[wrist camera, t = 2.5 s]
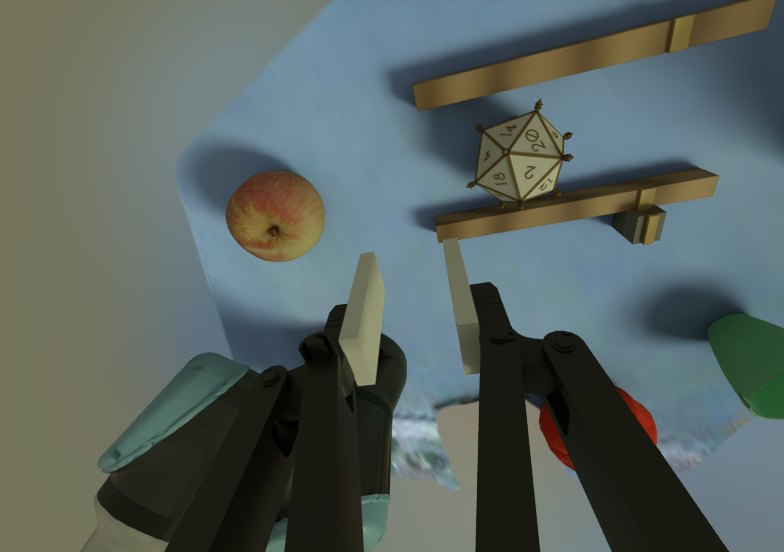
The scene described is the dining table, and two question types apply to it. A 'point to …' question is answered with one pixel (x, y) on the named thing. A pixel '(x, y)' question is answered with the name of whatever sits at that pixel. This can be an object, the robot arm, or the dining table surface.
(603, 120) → the dining table surface
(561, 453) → the tomato
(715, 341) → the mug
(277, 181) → the apple
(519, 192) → the game die
